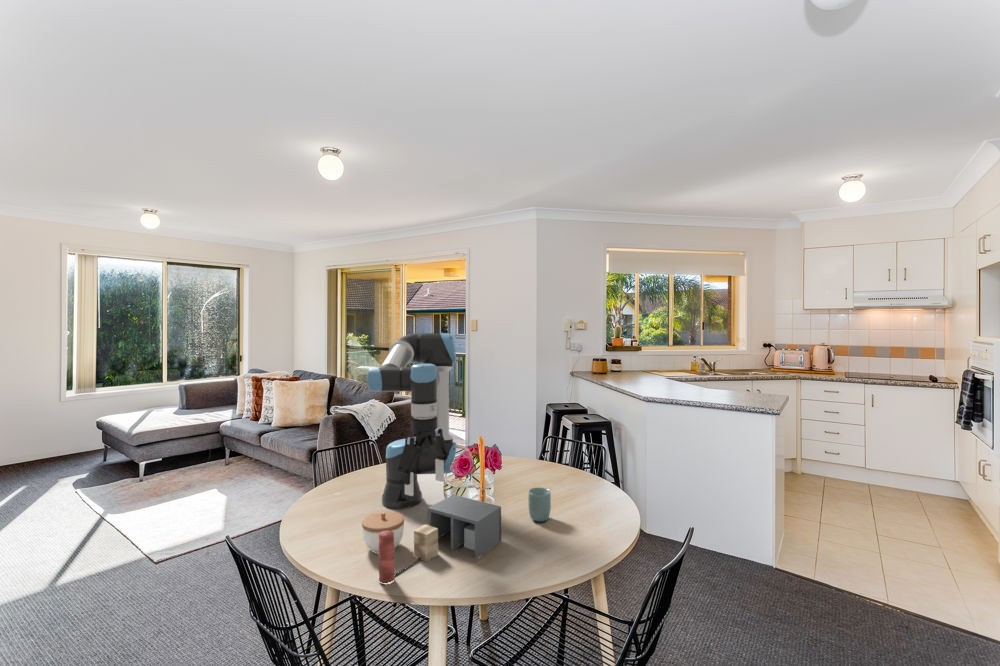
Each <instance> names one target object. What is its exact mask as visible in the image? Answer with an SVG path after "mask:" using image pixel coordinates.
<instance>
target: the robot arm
mask: <svg viewBox="0 0 1000 666" xmlns="http://www.w3.org/2000/svg"><path fill="white" fill-rule="evenodd" d="M410 363H411V364H413V365H412V366H411V367H409V366H407V365H408V364H410ZM455 363H457V354H456V346H455V341H454V336H453V335H452V334H451V333H447V332H446V333H445V332H443V333H442V332H432V333H431V332H429V333H420V332H419V333H415V332H414V333H409V334H406V335H404V336H401V337H400V338H398V339H396V340H395V341H394V342H393V343H391V345H390V346H389V349H388V354H387V356H386V358H385V359H384V361H383V362H382V364H381V366H379V367H378V366H376V367H370V368H368V370H367V372H366V386H367V390H369V392H378V393H381V392H382V393H385V392H386V393H387V392H389V393H390V392H410V396H411V397H410V398H411V399H410V400H411V401H410V402H411V403H410V412H411V413H410V415H411V416H412V417H411V431H412V432H413V436H411V437H410V436H406V437H405V438H402V439H401V438H400V439H397V440H394V441H392V442H390V443H389V444H388V445H387V446H386V448H385V453H386V454H385V470H386V474H385V475H386V476H385V477H386V483H385V486H384V489H383V490H384V491H383V494H382V495H381V503H382V505H383V506H384V507H386V508H389V509H407V508H412V507H415V506H417V505H419V504H420V503H422V500H423V493H422V491H421V488H420V484H419V482H418V475H435V481H438V482H445V474H450V473H453V471H451V470H450V466H451V464H452V462H453V460H454V458H455V459H456V452H457V442H455V441H454V439H453V438H454V437H453V436H452V435H451V434H450V404H449V403H450V399H449V398H450V394H449V393H450V377H449V376H450V375H449V373H450V371H451V370H452V369H453V367H454V364H455Z"/></svg>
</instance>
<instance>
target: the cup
mask: <svg viewBox="0 0 1000 666" xmlns="http://www.w3.org/2000/svg"><path fill="white" fill-rule="evenodd" d="M551 502H552V493H551V490H550V489H548V488H546V487H532V488H530V489H529V490H528V513H529V517H530V518H531V519H532V521H534V522H538V523H541V522H542V523H543V522H546V521H547V520H548V519H549V517H550V514H551V507H552V503H551Z"/></svg>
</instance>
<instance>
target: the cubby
mask: <svg viewBox="0 0 1000 666" xmlns="http://www.w3.org/2000/svg"><path fill="white" fill-rule="evenodd" d="M427 513H428V514H427V515H428V517H427V519H428V521H427V522H428V524H427V525H429V526H432V527H435V528H438V539H439V537H440V538H441V537H443V536H445V535H446V534H447V533H449V532H450V550H451V551H455V550H456V549H458V548H459V547H461V546H462V545H463V544H464V528H465V527H467V526H468V525H470V524H475V550H474V558H476V559H479V558H480V557H482V556H483V555H484V554H485V553H488V552H489V551H490V550H491V549H492V548H494V547H495V546H496V545H497V544H499V543H500V542H501V541H502V506H501V505H496V504H491V503H488V502H484V501H480V500H476V499H471V498H468V497H464V496H460V495H456V494H451V495H449V496H448V497H447V498H444V499H442V500H440V501H438V502H437V503H435V504H433V505H431V506H429V507H428V508H427Z"/></svg>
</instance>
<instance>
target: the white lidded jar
mask: <svg viewBox="0 0 1000 666" xmlns="http://www.w3.org/2000/svg"><path fill="white" fill-rule="evenodd" d="M361 526H362V536H363V541H364V543H365V545H366V547H367V548H368V549H370V550H371V552H372V551H374V552H376V553H379V533H380V532H383V531H392V532H394V550H396V548H397V547H398V545H400V542H401V541H402V539H403V535H404V530H405V528H404V527H405V517H404V515H403V514H402V513H400V512H397V511H393V510H392V511H390V510H386V511H377V512H373V513H371V514H369V515H367V516H365V517H363V520H362V522H361ZM395 547H396V548H395ZM374 552H373V553H374ZM376 553H375V554H376Z"/></svg>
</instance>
